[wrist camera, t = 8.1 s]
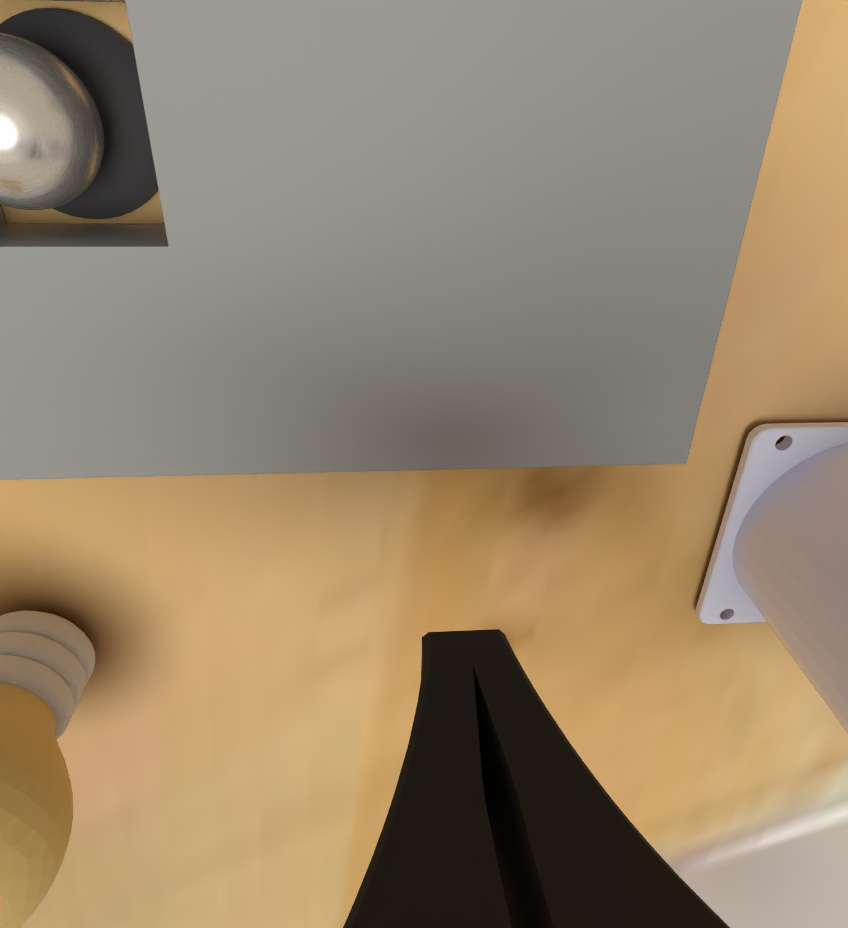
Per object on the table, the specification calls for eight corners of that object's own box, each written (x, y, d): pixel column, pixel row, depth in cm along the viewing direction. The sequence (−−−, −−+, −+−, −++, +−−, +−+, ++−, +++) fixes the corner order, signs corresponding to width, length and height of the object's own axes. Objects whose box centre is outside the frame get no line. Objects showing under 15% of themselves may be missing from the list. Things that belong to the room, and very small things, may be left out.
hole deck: (819, -364, 12) (917, -460, 10) (652, 422, 20) (686, 463, 18) (-367, -442, 11) (-554, -574, 8) (-33, 435, 19) (-86, 482, 17)
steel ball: (88, 32, 14) (65, 27, 12) (127, 190, 16) (115, 216, 13) (-80, 36, 14) (-144, 31, 11) (-20, 201, 15) (-63, 231, 13)
